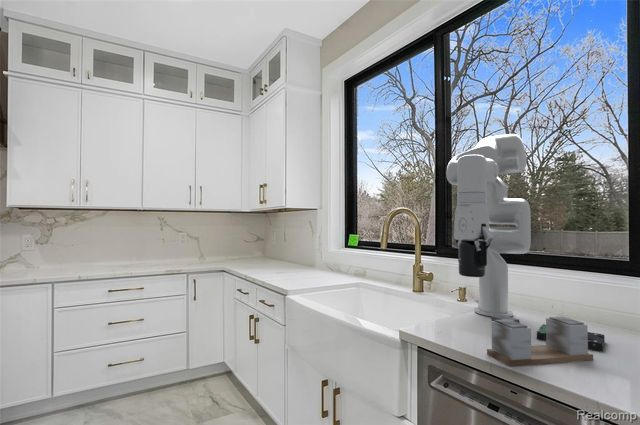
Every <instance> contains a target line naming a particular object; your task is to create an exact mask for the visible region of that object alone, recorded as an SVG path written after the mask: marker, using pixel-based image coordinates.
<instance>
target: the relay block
mask: <svg viewBox="0 0 640 425" xmlns="http://www.w3.org/2000/svg"><path fill="white" fill-rule="evenodd" d="M503 319H510V320H512V321H515V322H518V323H520V319H519V318H516V317H512V316H511V317H507V316H502V315H496V316H491V322H492V321H495V320H503Z"/></svg>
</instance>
